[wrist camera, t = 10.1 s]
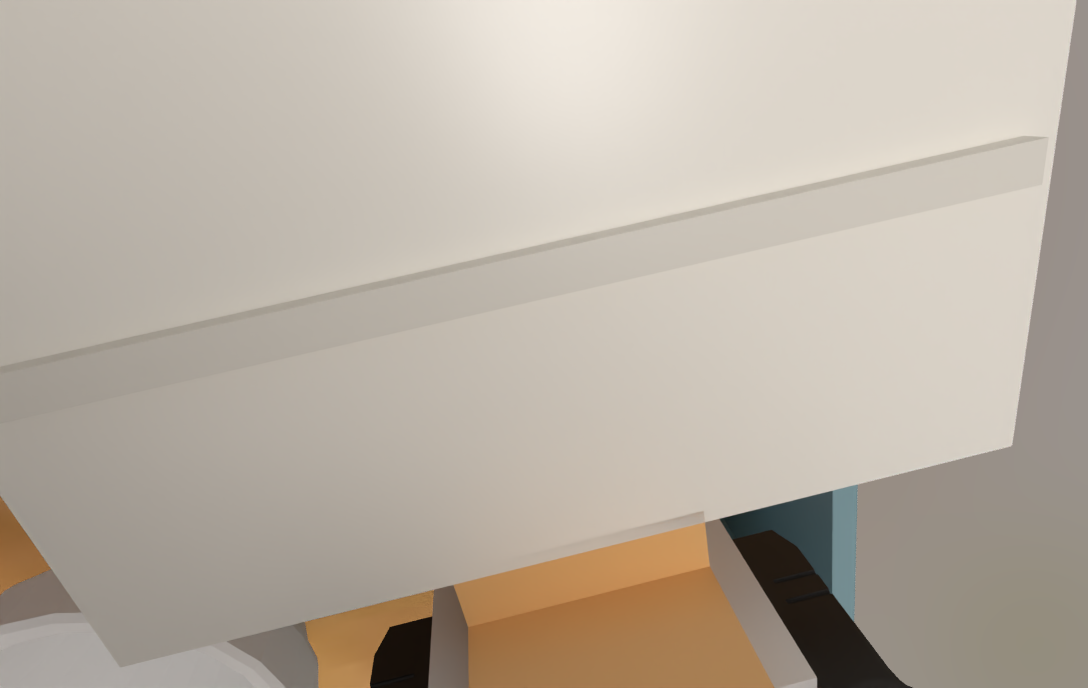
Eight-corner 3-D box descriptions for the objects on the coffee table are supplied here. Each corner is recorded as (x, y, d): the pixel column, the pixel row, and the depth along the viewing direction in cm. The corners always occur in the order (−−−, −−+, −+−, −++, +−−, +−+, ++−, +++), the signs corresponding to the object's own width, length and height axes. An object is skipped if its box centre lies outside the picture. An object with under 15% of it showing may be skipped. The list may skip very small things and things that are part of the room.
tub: (458, 342, 30) (457, 529, 17) (689, 289, 30) (859, 430, 17) (510, 527, 34) (539, 782, 22) (708, 478, 35) (852, 699, 22)
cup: (324, 585, 34) (241, 883, 21) (117, 527, 31) (-130, 835, 18) (401, 431, 31) (359, 670, 18) (179, 349, 28) (-66, 567, 15)
